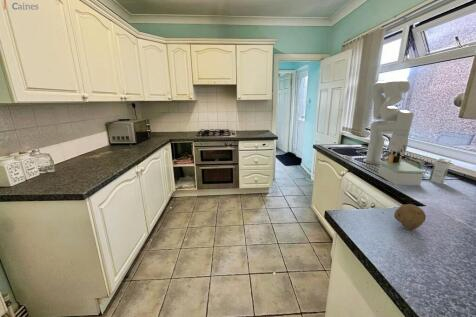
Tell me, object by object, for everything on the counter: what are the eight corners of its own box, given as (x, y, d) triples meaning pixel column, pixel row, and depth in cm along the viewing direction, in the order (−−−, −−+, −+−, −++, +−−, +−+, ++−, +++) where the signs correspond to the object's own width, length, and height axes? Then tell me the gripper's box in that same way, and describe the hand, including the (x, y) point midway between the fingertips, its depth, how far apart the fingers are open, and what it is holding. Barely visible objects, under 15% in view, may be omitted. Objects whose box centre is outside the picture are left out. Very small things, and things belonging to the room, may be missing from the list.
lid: (379, 164, 134) (381, 153, 131) (403, 164, 132) (406, 154, 130) (396, 174, 117) (398, 162, 115) (424, 174, 116) (427, 162, 114)
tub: (378, 175, 135) (380, 164, 133) (401, 176, 134) (403, 164, 132) (393, 186, 120) (396, 173, 117) (419, 186, 119) (423, 173, 116)
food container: (426, 177, 133) (430, 162, 130) (416, 177, 133) (420, 162, 130) (411, 170, 145) (415, 156, 142) (402, 170, 145) (405, 156, 142)
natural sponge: (390, 228, 82) (396, 205, 79) (393, 218, 88) (398, 197, 85) (420, 238, 76) (428, 214, 73) (421, 227, 82) (428, 204, 80)
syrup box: (431, 180, 128) (437, 157, 124) (444, 183, 123) (451, 159, 119) (428, 182, 125) (434, 159, 121) (441, 185, 120) (448, 161, 116)
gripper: (386, 130, 133) (380, 157, 138) (403, 135, 118) (396, 165, 123) (399, 130, 132) (392, 158, 138) (417, 135, 117) (409, 166, 123)
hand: (394, 161), depth 130 cm, fingers closed on lid
